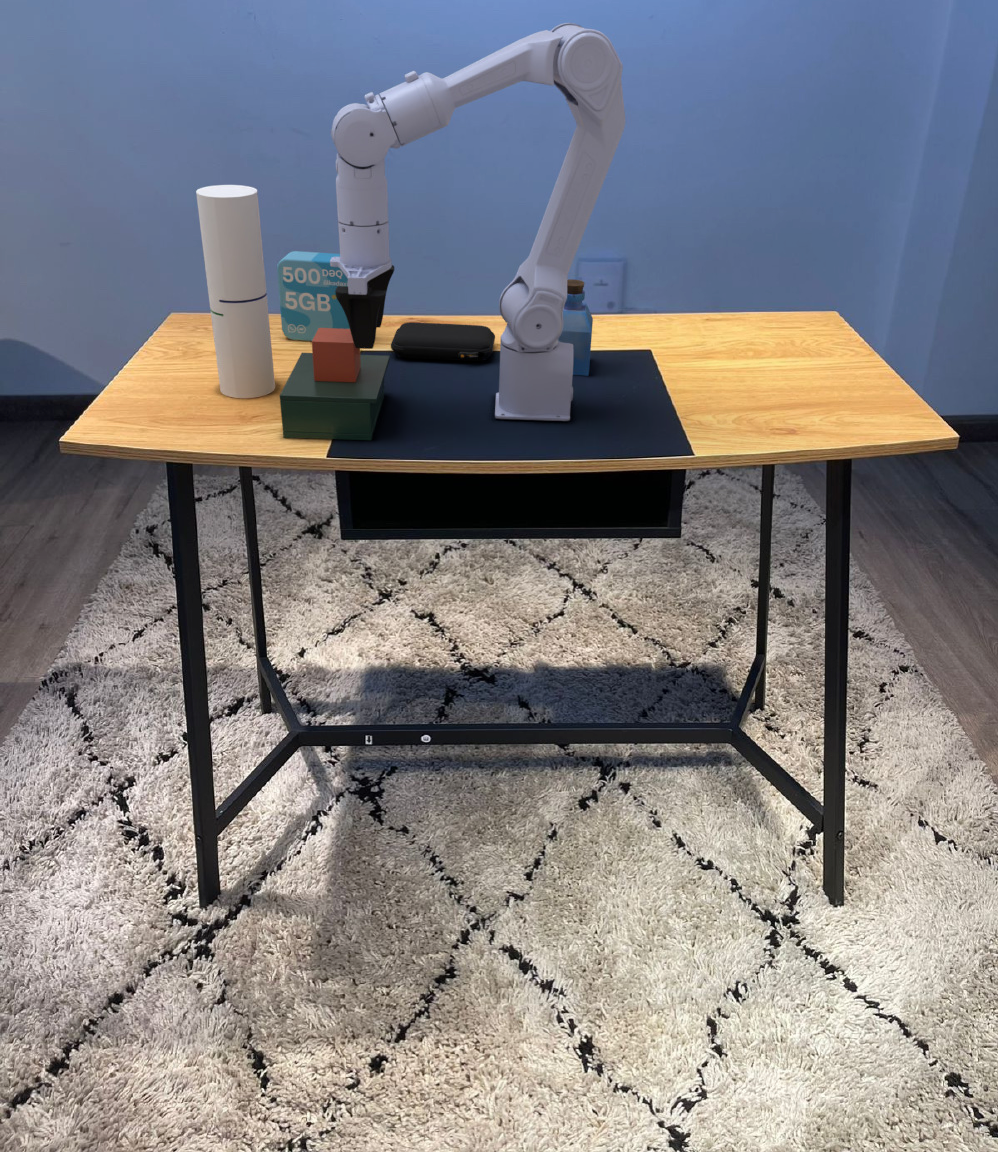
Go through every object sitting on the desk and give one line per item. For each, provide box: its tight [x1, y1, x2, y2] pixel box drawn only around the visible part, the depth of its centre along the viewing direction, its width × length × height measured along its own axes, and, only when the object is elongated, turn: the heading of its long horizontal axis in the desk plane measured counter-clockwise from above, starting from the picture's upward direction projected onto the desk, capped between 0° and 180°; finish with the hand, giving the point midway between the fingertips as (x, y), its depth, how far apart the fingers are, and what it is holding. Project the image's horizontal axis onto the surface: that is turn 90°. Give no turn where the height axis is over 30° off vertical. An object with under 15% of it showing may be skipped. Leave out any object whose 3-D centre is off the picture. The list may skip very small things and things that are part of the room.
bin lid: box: [279, 352, 391, 403], centre depth 126 cm, size 11×15×1 cm
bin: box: [279, 379, 386, 441], centre depth 127 cm, size 11×15×5 cm
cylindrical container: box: [195, 184, 276, 399], centre depth 129 cm, size 7×7×25 cm
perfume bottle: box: [558, 278, 594, 377], centre depth 143 cm, size 6×6×12 cm
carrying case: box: [390, 321, 496, 362], centre depth 148 cm, size 11×3×15 cm
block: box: [311, 328, 361, 382], centre depth 125 cm, size 5×5×5 cm
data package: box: [276, 250, 350, 342], centre depth 150 cm, size 12×4×12 cm, turn 82°
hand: (368, 336), depth 123 cm, fingers open, 7 cm apart
